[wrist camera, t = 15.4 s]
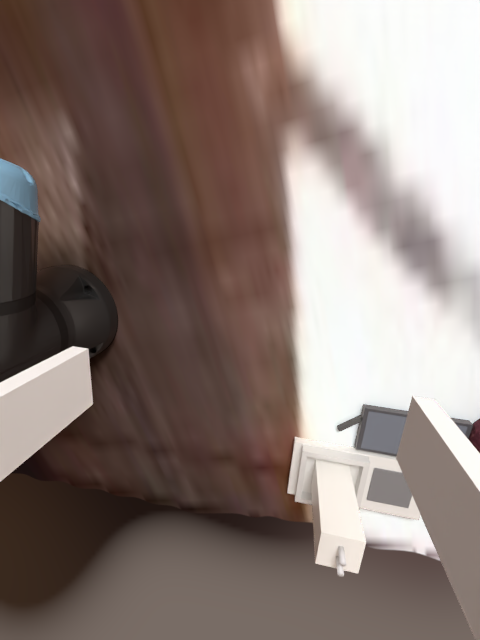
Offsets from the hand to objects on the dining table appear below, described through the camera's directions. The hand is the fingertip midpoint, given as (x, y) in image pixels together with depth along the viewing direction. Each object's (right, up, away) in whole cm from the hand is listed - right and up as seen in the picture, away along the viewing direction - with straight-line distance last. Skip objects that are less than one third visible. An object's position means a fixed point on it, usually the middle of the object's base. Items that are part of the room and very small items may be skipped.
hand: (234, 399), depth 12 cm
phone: (+25, -13, +31) cm, 42 cm away
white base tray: (+18, -21, +35) cm, 45 cm away
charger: (+14, -21, +34) cm, 43 cm away
